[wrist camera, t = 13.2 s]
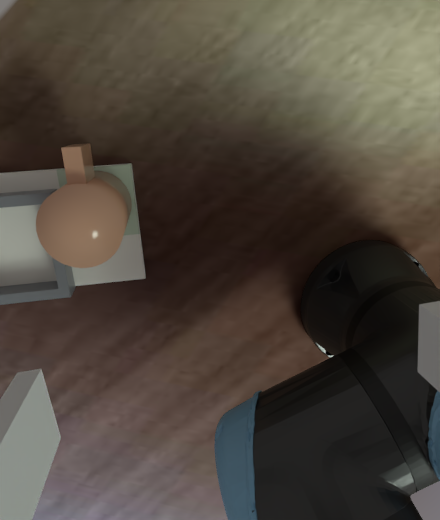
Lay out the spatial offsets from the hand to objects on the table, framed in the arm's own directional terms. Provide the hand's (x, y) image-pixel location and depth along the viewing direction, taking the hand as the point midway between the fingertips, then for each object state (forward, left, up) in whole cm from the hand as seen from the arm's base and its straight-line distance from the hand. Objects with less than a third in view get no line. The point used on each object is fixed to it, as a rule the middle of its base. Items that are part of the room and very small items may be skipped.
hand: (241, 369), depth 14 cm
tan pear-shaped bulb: (+3, +9, -29) cm, 31 cm away
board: (-1, +14, -31) cm, 34 cm away
